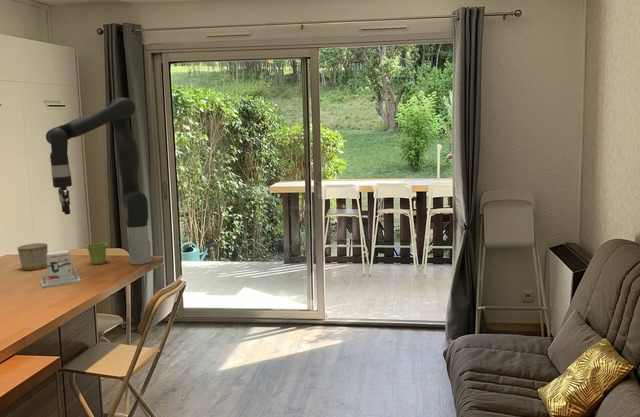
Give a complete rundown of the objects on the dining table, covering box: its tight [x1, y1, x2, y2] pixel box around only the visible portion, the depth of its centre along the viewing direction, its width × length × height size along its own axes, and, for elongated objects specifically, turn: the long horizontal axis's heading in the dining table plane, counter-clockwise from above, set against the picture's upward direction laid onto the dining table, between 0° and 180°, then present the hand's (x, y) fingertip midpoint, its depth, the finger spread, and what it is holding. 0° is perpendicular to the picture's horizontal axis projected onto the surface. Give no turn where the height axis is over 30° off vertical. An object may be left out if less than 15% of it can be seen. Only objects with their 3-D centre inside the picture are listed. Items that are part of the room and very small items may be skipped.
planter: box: [17, 242, 49, 271], centre depth 300 cm, size 13×13×10 cm
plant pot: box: [86, 242, 108, 265], centre depth 305 cm, size 9×9×9 cm
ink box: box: [46, 249, 73, 280], centre depth 270 cm, size 8×5×12 cm, turn 122°
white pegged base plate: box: [39, 266, 82, 289], centre depth 270 cm, size 15×11×5 cm
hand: (66, 213), depth 280 cm, fingers open, 8 cm apart
